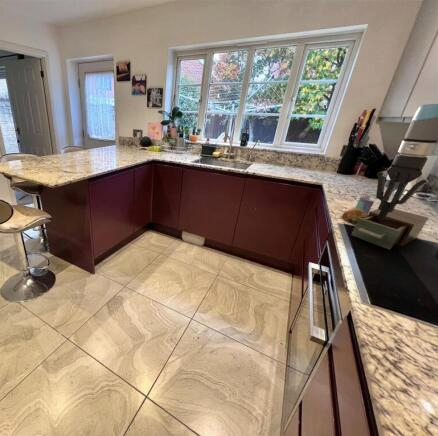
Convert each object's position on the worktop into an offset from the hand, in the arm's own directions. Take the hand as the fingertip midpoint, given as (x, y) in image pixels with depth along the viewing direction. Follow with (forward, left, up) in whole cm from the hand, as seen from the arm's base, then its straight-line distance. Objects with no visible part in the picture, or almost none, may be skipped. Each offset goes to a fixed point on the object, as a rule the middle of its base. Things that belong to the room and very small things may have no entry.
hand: (380, 218), depth 87 cm
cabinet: (0, -20, -12) cm, 23 cm away
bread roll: (+14, -23, -12) cm, 29 cm away
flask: (+17, -37, -12) cm, 42 cm away
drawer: (0, -6, -11) cm, 12 cm away
